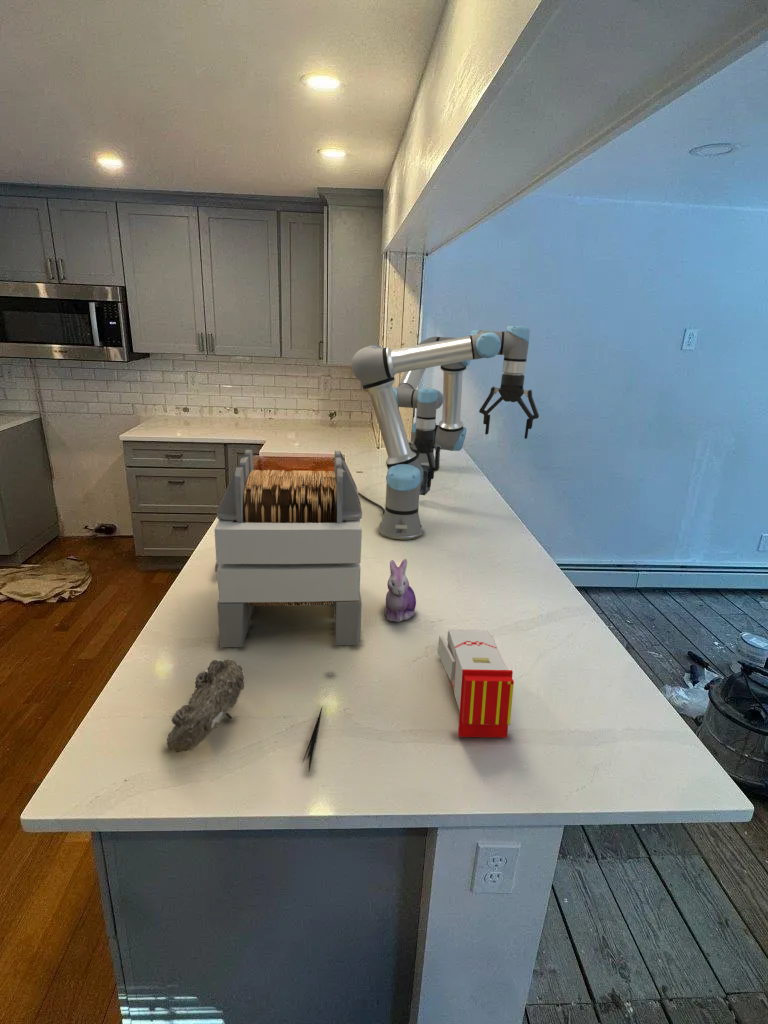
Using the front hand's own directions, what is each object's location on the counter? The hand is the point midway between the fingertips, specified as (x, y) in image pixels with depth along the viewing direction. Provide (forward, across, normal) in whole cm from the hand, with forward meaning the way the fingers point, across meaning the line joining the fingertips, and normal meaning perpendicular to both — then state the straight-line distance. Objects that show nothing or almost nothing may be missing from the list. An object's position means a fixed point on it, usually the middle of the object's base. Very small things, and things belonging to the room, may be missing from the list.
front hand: (506, 435), depth 199 cm
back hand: (+27, +33, -14) cm, 44 cm away
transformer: (+34, +39, +84) cm, 99 cm away
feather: (+34, +15, +119) cm, 125 cm away
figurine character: (+34, +67, +70) cm, 103 cm away
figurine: (+34, +13, +75) cm, 83 cm away
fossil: (+34, +34, +126) cm, 135 cm away
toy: (+34, -10, +99) cm, 106 cm away
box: (+29, +33, -14) cm, 46 cm away
